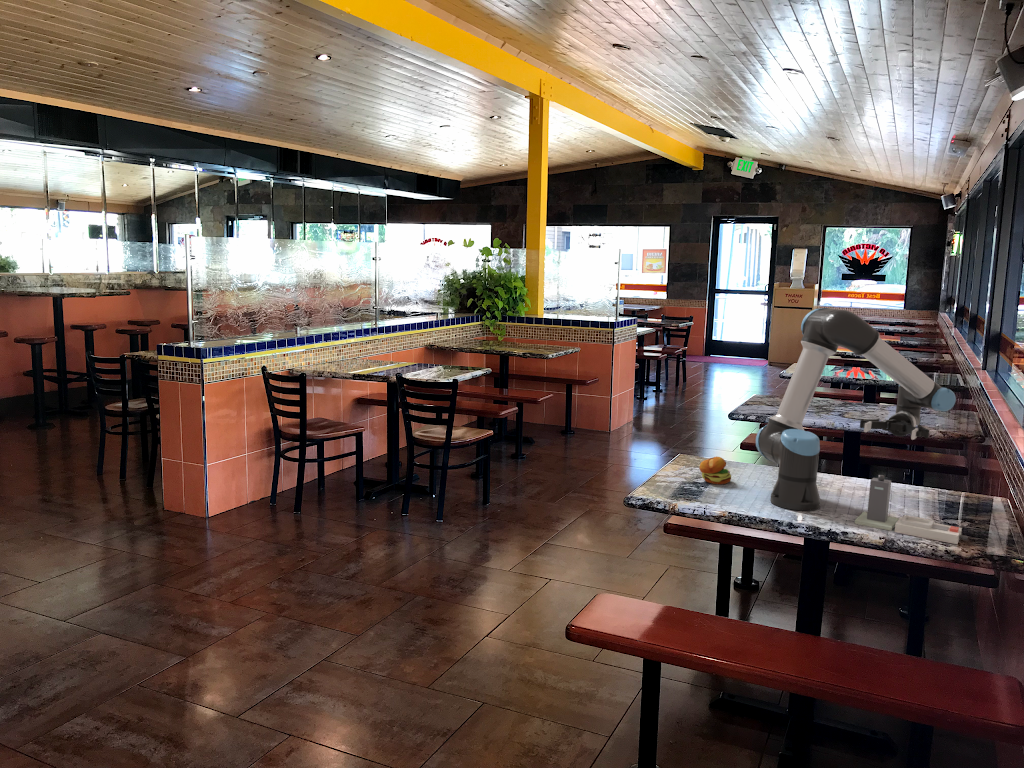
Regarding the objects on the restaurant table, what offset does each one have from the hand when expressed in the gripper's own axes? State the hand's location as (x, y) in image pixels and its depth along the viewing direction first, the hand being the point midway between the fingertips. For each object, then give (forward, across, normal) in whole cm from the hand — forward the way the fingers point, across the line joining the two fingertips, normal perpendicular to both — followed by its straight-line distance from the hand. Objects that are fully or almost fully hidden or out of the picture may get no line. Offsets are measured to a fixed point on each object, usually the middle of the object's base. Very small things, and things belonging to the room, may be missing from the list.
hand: (888, 431), depth 246 cm
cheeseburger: (0, +53, -27) cm, 60 cm away
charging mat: (+13, -2, -26) cm, 29 cm away
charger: (+13, -2, -25) cm, 28 cm away
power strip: (+15, -16, -26) cm, 34 cm away
